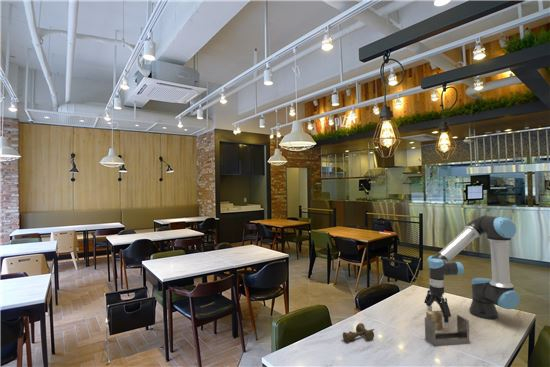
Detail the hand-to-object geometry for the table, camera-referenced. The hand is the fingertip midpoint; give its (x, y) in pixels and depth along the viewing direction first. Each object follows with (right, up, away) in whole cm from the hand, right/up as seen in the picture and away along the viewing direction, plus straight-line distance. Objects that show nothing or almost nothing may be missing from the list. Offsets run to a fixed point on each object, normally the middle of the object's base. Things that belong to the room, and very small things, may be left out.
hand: (437, 322), depth 169 cm
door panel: (0, -4, 0) cm, 4 cm away
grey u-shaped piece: (-2, -4, -13) cm, 14 cm away
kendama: (-48, -5, -9) cm, 49 cm away
